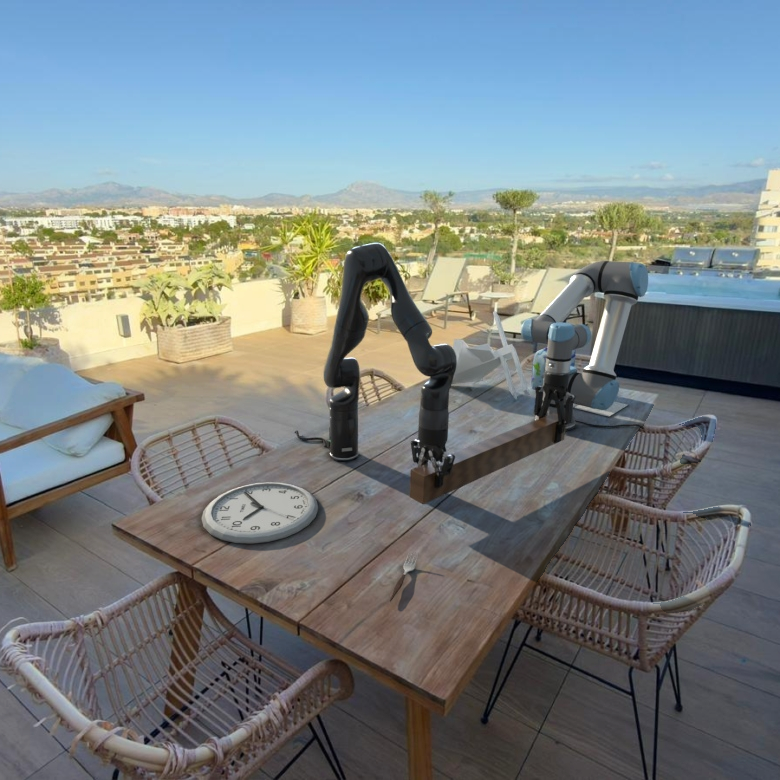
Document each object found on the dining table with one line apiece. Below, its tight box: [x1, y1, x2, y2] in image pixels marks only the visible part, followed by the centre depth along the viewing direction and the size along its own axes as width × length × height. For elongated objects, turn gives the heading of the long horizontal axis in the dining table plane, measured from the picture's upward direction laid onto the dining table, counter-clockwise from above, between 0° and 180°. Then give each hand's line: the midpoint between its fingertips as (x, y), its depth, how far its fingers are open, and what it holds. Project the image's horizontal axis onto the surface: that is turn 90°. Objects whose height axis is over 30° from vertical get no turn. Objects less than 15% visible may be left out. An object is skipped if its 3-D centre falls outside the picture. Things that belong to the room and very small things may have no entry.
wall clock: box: [201, 481, 319, 544], centre depth 139 cm, size 30×2×30 cm
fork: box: [389, 550, 419, 602], centre depth 113 cm, size 3×16×2 cm, turn 160°
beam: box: [409, 413, 566, 505], centre depth 155 cm, size 66×5×8 cm, turn 131°
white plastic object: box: [451, 310, 531, 400], centre depth 245 cm, size 37×45×31 cm
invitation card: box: [573, 401, 629, 418], centre depth 226 cm, size 21×1×15 cm
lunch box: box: [530, 347, 577, 391], centre depth 247 cm, size 26×11×21 cm, turn 134°
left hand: (430, 483), depth 137 cm, fingers closed on beam, 5 cm apart
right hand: (549, 439), depth 173 cm, fingers closed on beam, 5 cm apart
